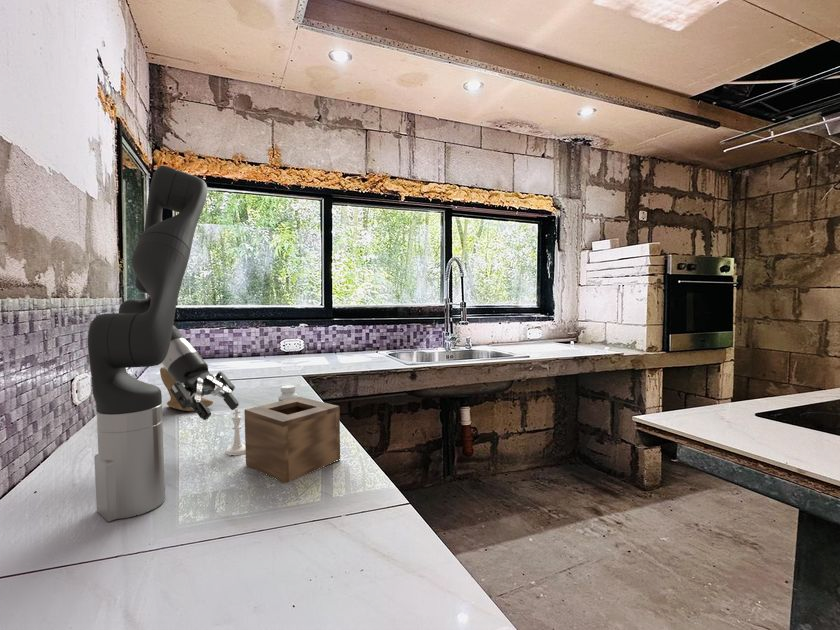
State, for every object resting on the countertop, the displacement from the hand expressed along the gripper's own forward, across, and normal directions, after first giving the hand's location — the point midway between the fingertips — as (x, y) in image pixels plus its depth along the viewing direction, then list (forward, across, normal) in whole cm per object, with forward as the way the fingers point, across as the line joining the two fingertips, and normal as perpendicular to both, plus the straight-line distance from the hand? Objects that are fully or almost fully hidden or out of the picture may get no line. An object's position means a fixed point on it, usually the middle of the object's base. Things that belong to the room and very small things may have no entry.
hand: (222, 412), depth 99 cm
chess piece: (+9, 0, +4) cm, 10 cm away
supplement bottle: (+7, +25, +6) cm, 26 cm away
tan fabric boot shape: (-21, +25, +34) cm, 47 cm away
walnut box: (+21, -2, -8) cm, 22 cm away
